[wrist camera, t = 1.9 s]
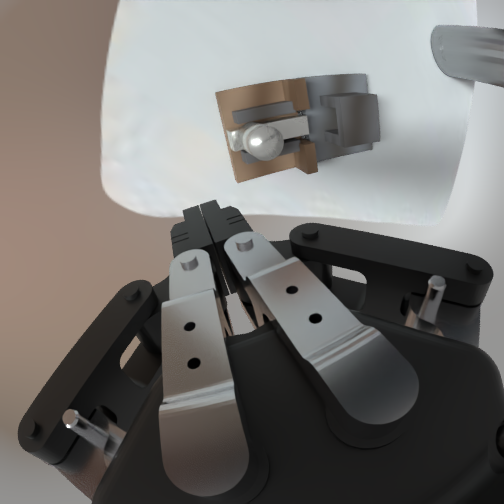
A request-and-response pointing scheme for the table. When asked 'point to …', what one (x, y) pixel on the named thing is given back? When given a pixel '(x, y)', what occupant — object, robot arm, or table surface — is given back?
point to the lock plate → (318, 116)
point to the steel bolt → (267, 135)
